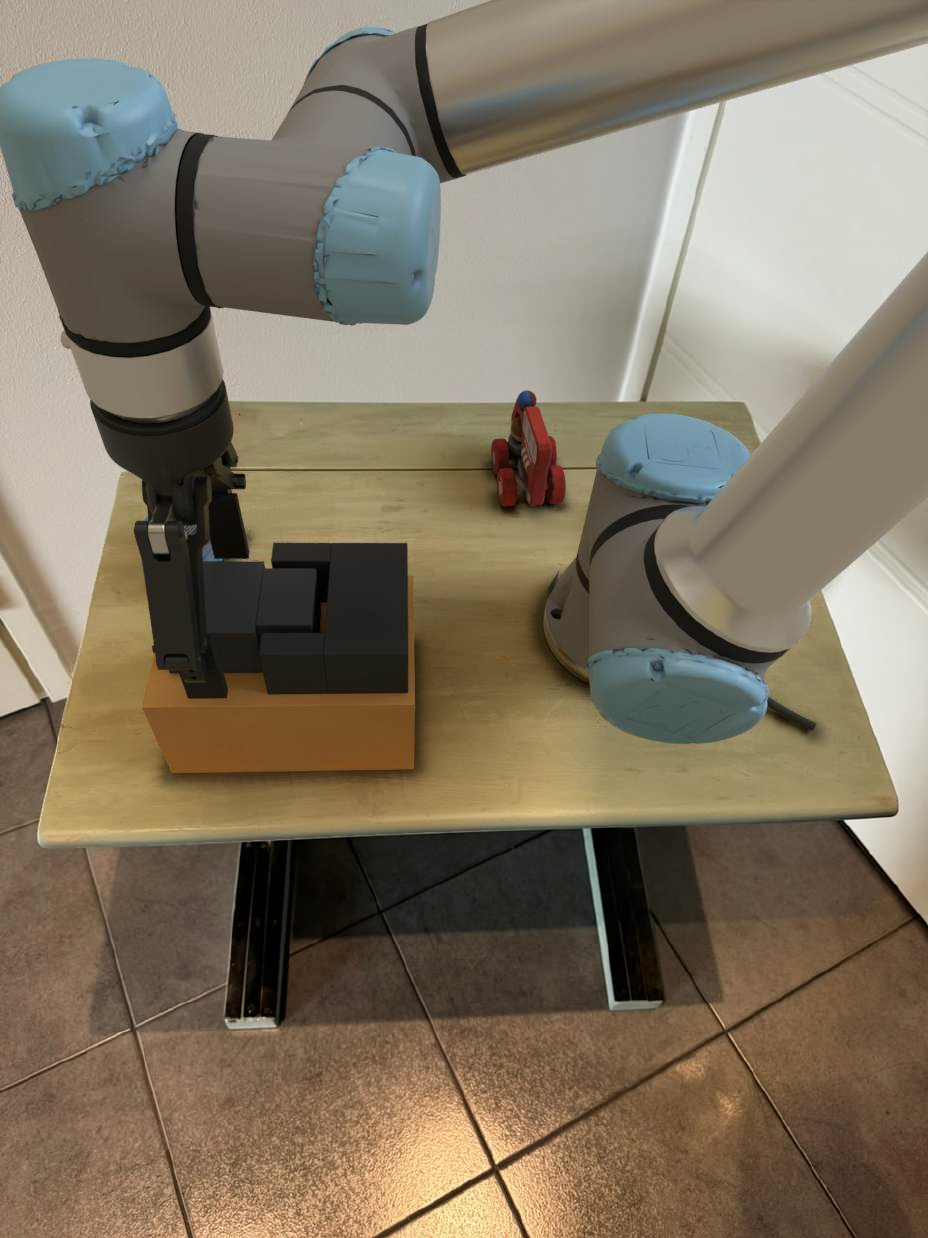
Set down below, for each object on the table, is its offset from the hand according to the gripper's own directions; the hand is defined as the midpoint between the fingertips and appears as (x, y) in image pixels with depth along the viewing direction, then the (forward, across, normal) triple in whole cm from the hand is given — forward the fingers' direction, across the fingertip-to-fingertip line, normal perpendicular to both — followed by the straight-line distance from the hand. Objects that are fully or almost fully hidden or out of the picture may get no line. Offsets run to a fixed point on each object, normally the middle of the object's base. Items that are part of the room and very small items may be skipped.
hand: (221, 620), depth 64 cm
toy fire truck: (+12, -29, +28) cm, 42 cm away
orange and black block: (+12, 0, +5) cm, 13 cm away
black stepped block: (+2, 0, +2) cm, 3 cm away
